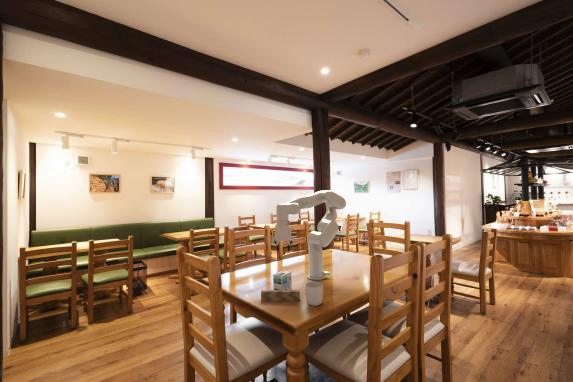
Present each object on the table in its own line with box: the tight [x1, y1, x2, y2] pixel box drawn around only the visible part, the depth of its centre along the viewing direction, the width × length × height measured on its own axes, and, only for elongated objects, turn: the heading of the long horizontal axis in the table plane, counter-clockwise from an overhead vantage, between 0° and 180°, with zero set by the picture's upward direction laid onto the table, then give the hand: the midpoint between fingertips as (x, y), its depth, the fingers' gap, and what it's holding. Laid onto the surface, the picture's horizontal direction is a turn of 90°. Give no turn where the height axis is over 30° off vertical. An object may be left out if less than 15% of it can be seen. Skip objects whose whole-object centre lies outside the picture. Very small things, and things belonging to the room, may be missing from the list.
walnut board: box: [260, 289, 301, 302], centre depth 146 cm, size 21×2×5 cm, turn 86°
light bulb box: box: [272, 270, 293, 290], centre depth 160 cm, size 11×7×11 cm, turn 148°
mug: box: [305, 281, 324, 307], centre depth 143 cm, size 13×9×10 cm
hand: (283, 251), depth 171 cm, fingers open, 5 cm apart
